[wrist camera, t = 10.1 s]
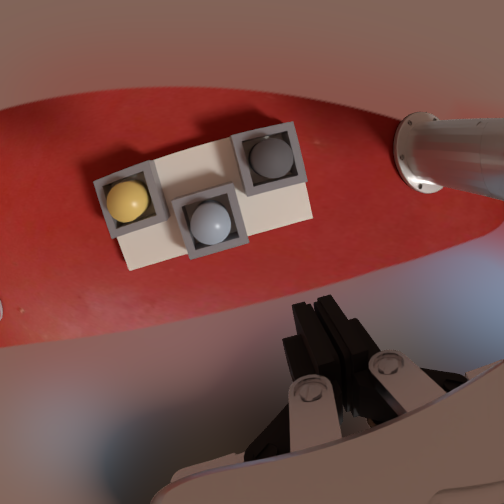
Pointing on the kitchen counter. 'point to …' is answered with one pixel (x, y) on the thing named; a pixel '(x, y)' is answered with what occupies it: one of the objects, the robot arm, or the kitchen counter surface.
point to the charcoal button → (271, 158)
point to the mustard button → (128, 200)
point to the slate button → (210, 222)
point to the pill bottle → (1, 310)
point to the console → (207, 197)
